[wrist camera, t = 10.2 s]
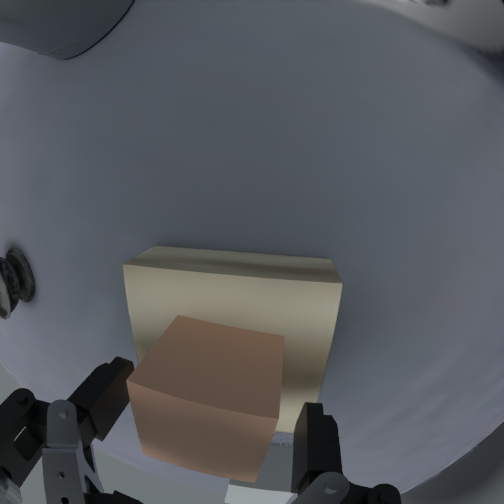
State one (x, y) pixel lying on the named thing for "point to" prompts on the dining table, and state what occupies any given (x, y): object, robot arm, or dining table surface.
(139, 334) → the birch block
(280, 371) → the terracotta cube
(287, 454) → the grey cube
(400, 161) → the dining table surface
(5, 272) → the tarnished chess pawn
